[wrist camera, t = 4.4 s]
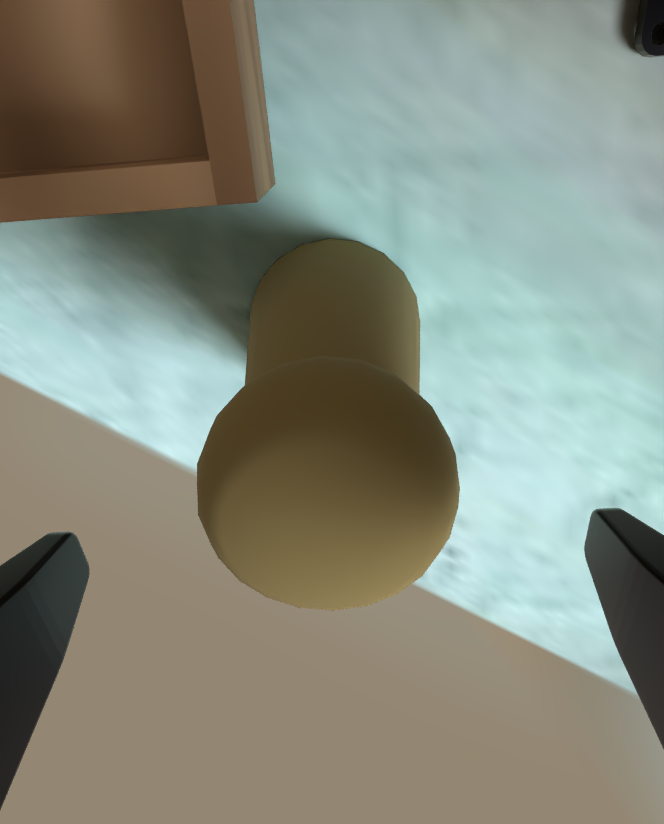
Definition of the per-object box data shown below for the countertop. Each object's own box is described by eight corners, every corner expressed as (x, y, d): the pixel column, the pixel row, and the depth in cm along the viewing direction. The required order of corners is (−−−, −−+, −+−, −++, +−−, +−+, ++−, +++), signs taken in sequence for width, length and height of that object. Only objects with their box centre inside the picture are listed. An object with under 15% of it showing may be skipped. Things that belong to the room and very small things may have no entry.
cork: (455, 302, 18) (578, 508, 9) (357, 427, 21) (369, 693, 11) (306, 200, 17) (256, 314, 7) (220, 349, 19) (97, 580, 10)
